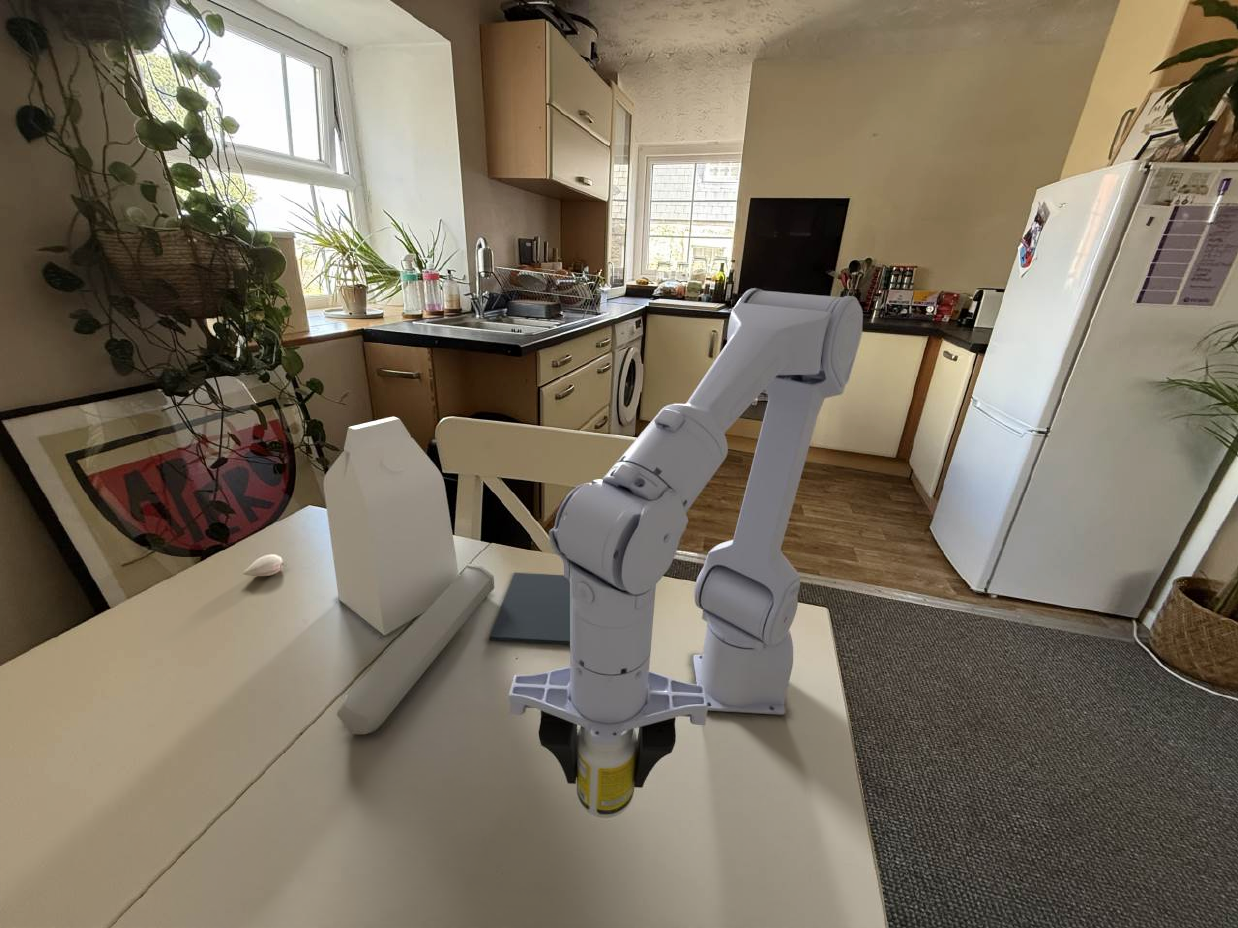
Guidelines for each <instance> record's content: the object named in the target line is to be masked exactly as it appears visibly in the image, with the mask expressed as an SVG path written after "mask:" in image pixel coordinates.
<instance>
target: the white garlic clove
mask: <svg viewBox="0 0 1238 928" xmlns="http://www.w3.org/2000/svg"><path fill="white" fill-rule="evenodd" d="M283 568H284V562H283V558H282V556H280V555H277V554H272V553H271V554H266V555H262V556H261V557H258V558H257V559H255V561H253V562H252V563H251V564H250V565H249V566H248V567H247V568H246V569H245V570H244V571H243V575H244V576H251V577H267V576H268V577H269V576H273V575H275V574H277V573H279V572H281V570H283Z"/></svg>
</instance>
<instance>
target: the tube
mask: <svg viewBox="0 0 1238 928" xmlns="http://www.w3.org/2000/svg"><path fill="white" fill-rule="evenodd" d="M494 590H495V577H494V575H493V574H492V573H491V572H489V570H487V569H486V568H485V567H484V566H482V565H477V564H472V563H468V564H467V565H466V566H465V567H464V569H462V571H461V572H459V577H458V578H457V579H456V580H455V581H454V582H453V583H452V584H451V585H450V586H449V587H448V588H447V590H446V591H445V592H444V593H443V594H442V595H441V596H440V597H439V598H438V599H437V600H436V601H435V602H434V603H433V604H432V605H431V606H430V607H429V609H428V610H427V611H425V612H424V613H422V614H421V616H420V617H419V618H417V620H416V621H415V622H414V623H413V624H412V625H411V626H410V628H408V629H407V631H405V633H404V634H402V636H401V637H400V638H399V639H398V640H397V641H396V642H395V643H394V644H393V645H392V647H390V649H389V650H387V651H386V653H385V654H384V655H382V657H381V658H380V659H379V660H378V661H377V662H376V663H375V664H374V666H372V668H370V670H369V671H367V673H366V674H365V675H364V676H363V677H362V678H361V679H360V680H359V681H358V682H357V684H355V685H354V687H352V689H351V690H350V691H348V693H347V694H346V695H345V697H344V698H343V699H342V700H341V701H340V704H339V707H338V710H337V713H336V716H337V718H338V719H339V720H340V722H341V723H342V724H343V726H344V727H345V728H346V730H347V731H348V733H349V734H350V735H367V734H370V733H373V732H376V731H377V730H378V729H379V728H380V726H382V725H383V723H384V722H385V721H386V720H387V718H388V717H389V716H390V715H391V713H392V712H393V711H394V710H395V708H396V707H397V706H398V705H399V704H400V702H401V701H402V700H403V699H404V697H406V695H407V694H408V693H409V691H410V690H411V689H412V687H414V685H415V684H416V683H417V681H418V680H419V679H420V678H421V677H422V676H423V674H424V673H425V672H426V670H427V669H428V668H429V667H430V666H431V665H432V663H433V662H434V661H435V660H436V658H437V657H438V656H439V655H440V653H441V652H442V651H443V650H444V648H445V647H446V646H447V645H448V643H449V642H450V641H452V639H453V637H454V636H455V635H456V634H457V632H458V631H459V630H460V629H461V627H463V625H464V624H465V622H467V620H468V619H469V618H470V616H471V615H473V613H474V612H475V610H476V609H477V608H478V606H480V604H481V603H482V602H483V600H484V599H486V598H487V597H488V596H489V595H490V594H492V592H493V591H494Z"/></svg>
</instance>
